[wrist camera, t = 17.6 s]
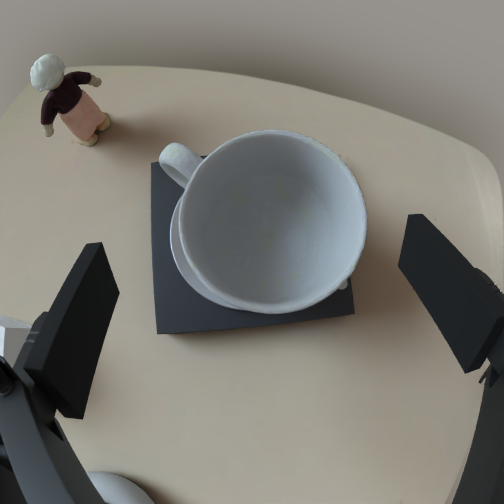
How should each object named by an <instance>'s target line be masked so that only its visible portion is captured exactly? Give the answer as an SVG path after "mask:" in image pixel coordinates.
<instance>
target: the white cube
mask: <svg viewBox="0 0 504 504" xmlns="http://www.w3.org/2000/svg"><path fill="white" fill-rule="evenodd" d="M31 328H32V325H29V324H26V323H23V322H20V321H17V320H14V319H11V318H8V317H5V316H0V355H1V356H2V357H4V358H5V359H6V361H7V362H8V363H9V365H10V366H11V367H12V368H13V366H14V364H15V361H16V359H17V357H18V355H19V353H20V350H21V348H22V346H23V344H24V342H26V341H25V340H26V338H27V336H28V334H30V330H31Z"/></svg>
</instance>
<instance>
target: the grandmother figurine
mask: <svg viewBox="0 0 504 504" xmlns="http://www.w3.org/2000/svg"><path fill="white" fill-rule="evenodd" d="M64 69H65V65H64V62H63V61H62V60H61V59H60V58H58V57H57V56H55V55H53V54H46V55H43V56H42V57H41V58H39V59H38V60H37V61H35V64H34V66H33V67H32V68H31V74H30V76H31V83H32V86H34V88H36V89H37V90H38V91H40V92H41V91H43V90H50V91H49V92H48V94H47V96H46V97H45V99H44V101H43V104H42V109H41V124H42V125H43V129H44V135H45V136H46V137H50V136H52V135H53V133H54V129H53V121H54V119H55V117H56V115H57V113H58V114H59V116H60V118H61V120H62V121H63V122H64V123H65V125H66V126H67V127H68V128H69V130H70V131H71V132H72V133H73V134H74V135H75V136H76V137H77V138H78V142H79V143H80V144H82V145H85V146H93V145H94V144H95V143H96V141H97V140H98V135H97V134H96V133H94V131H95V130H96V128H97V129H98V130H100V131H103V130H105V129H107V128H108V127H109V126H110V120H109V118H108V116H107V114H106V113H104V112H102V111H101V110H100V108H99V107H98V106H97V105H96V103H95V102H94V101H93V100H92V99H91V98H90V97H89V96H88V95H87V94H86V92H85V91H83V90H81V89H80V87H79V86H78V85H80V84H89V85H92V86H94V87H99V86H100V85H101V82H102V81H101V79H100V78H96V77H95V76H94V75H91V74H90V73H88V72H81V71H77V72H71V73H68V74H66V75H65V76H64Z"/></svg>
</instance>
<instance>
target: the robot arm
mask: <svg viewBox="0 0 504 504" xmlns="http://www.w3.org/2000/svg"><path fill="white" fill-rule="evenodd" d="M398 267H399V268H400V270H401V271H402V273H403V274H404V276H405V277H406V278H407V280H408V281H409V283H410V284H411V286H412V287H413V289H414V290H415V292H416V293H417V295H418V296H419V298H420V299H421V301H422V303H423V304H424V306H425V307H426V309H427V310H428V312H429V313H430V315H431V317H432V318H433V320H434V321H435V323H436V325H437V326H438V328H439V330H440V331H441V333H442V334H443V336H444V338H445V339H446V341H447V343H448V344H449V346H450V348H451V350H452V351H453V353H454V355H455V357H456V358H457V360H458V362H459V364H460V365H461V367H462V369H463V371H464V373H465V374H466V373H469V372H471V371H474V370H477V369H479V368H480V367H481V366H482V364H483V363H484V361H485V360H486V358H488V360H489V361H490V365H489V366H488V368H487V369H486V371H485V372H484V374H483V375H482V377H481V378H480V380H479V383H480V384H481V383H482V381H483V380H484V378H486V380H485V384H484V385H485V386H484V392H483V397H482V402H481V407H480V412H479V417H478V421H477V425H476V430H475V434H474V438H473V442H472V445H471V448H470V452H469V455H468V459H467V462H466V465H465V468H464V472H463V475H462V477H461V480H460V483H459V486H458V489H457V492H456V494H455V497H454V499H453V502H452V504H504V294H503V293H502V292H500V290H499V288H498V287H497V286H496V285H494V282H493V281H492V280H491V279H490V278H489V277H488V276H487V275H486V274H485V273H484V272H482V271H481V270H479V269H478V268H474V267H473V266H472V265H471V264H470V263H469V261H468V260H467V259H466V258H465V257H464V256H463V255H462V254H461V253H460V252H459V251H458V250H457V248H456V247H455V246H454V245H453V244H452V243H451V242H450V241H449V240H448V239H447V238H446V237H445V236H444V235H443V234H442V233H441V232H440V231H439V230H438V229H437V228H436V227H435V226H434V225H433V224H432V223H431V222H430V221H429V220H428V219H427V218H426V217H425V216H424V215H423V214H410V215H408V219H407V225H406V230H405V235H404V240H403V245H402V249H401V254H400V259H399V263H398ZM119 294H120V292H119V290H118V287H117V284H116V282H115V279H114V276H113V273H112V271H111V268H110V265H109V262H108V259H107V256H106V253H105V250H104V247H103V244H102V242H98V243H90V244H86V245H85V247H84V249H83V250H82V252H81V254H80V255H79V257H78V259H77V261H76V262H75V264H74V266H73V267H72V269H71V271H70V273H69V275H68V276H67V278H66V280H65V282H64V284H63V285H62V287H61V289H60V291H59V293H58V295H57V297H56V298H55V300H54V302H53V304H52V306H51V308H50V310H49V312H43V313H42V314H41V315H40V316H39V317H38V318H37V319H36V320H35V322H34V324H33V326H32V328H31V330H30V334H28V336H27V338H26V340H25V341H26V342H24V344H23V346H22V348H21V350H20V353H19V355H18V357H17V359H16V361H15V364H14V366H13V368H12V367H11V366H10V365H9V363H8V362H7V361H6V359H5V358H4V357H2V356H1V355H0V504H106V503H105V501H104V500H103V498H102V497H101V495H100V494H99V492H98V491H97V489H96V488H95V486H94V485H93V483H92V481H91V480H90V478H89V477H88V475H87V473H86V472H85V470H84V468H83V467H82V465H81V463H80V462H79V460H78V458H77V456H76V454H75V453H74V451H73V449H72V447H71V445H70V443H69V442H68V440H67V438H66V436H65V434H64V432H63V430H62V428H61V426H60V424H59V422H58V421H57V419H56V418H55V417H54V416H55V412H56V409H57V410H58V411H59V412H60V413H61V414H62V415H63V416H64V417H66V418H74V419H83V417H84V413H85V409H86V405H87V401H88V397H89V393H90V389H91V385H92V381H93V377H94V374H95V370H96V367H97V363H98V359H99V356H100V353H101V349H102V346H103V343H104V339H105V336H106V333H107V330H108V327H109V323H110V320H111V317H112V314H113V311H114V308H115V305H116V302H117V299H118V296H119Z"/></svg>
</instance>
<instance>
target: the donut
mask: <svg viewBox="0 0 504 504" xmlns="http://www.w3.org/2000/svg"><path fill="white" fill-rule="evenodd" d="M87 475H88V477H89V478H90V480H91V481H92V483H93V485H94V486H95V488H96V489H97V491H98V492H99V494H100V495H101V497H102V498H103V500H104V501H105V502H106V503H110V504H154V502H153V501H152V499H151V498H150V497H149V496H148V495H147V494H146V493H145V491H143V490H142V489H141V488H139V487H138V486H137V485H135V484H134V483H133V482H131V481H129V480H127V479H125V478H123V477H121V476H119V475H115V474H111V473H107V472H88V473H87Z"/></svg>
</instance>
